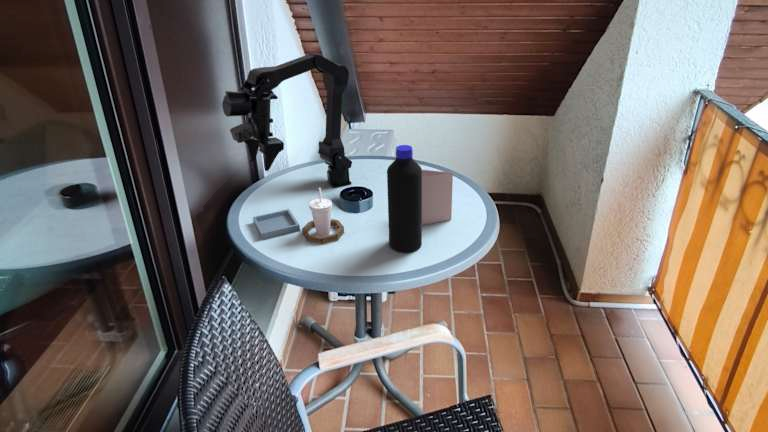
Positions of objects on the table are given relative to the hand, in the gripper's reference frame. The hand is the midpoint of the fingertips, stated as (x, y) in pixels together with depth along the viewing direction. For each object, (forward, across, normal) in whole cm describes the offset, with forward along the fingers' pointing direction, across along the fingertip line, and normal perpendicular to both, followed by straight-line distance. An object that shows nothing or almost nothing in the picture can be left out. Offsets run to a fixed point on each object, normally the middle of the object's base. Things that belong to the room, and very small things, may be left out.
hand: (259, 166), depth 162 cm
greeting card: (+9, +40, +34) cm, 54 cm away
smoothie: (+13, +25, +7) cm, 30 cm away
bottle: (+11, +45, +21) cm, 51 cm away
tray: (+14, +13, -1) cm, 19 cm away
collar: (+13, +25, +7) cm, 29 cm away
